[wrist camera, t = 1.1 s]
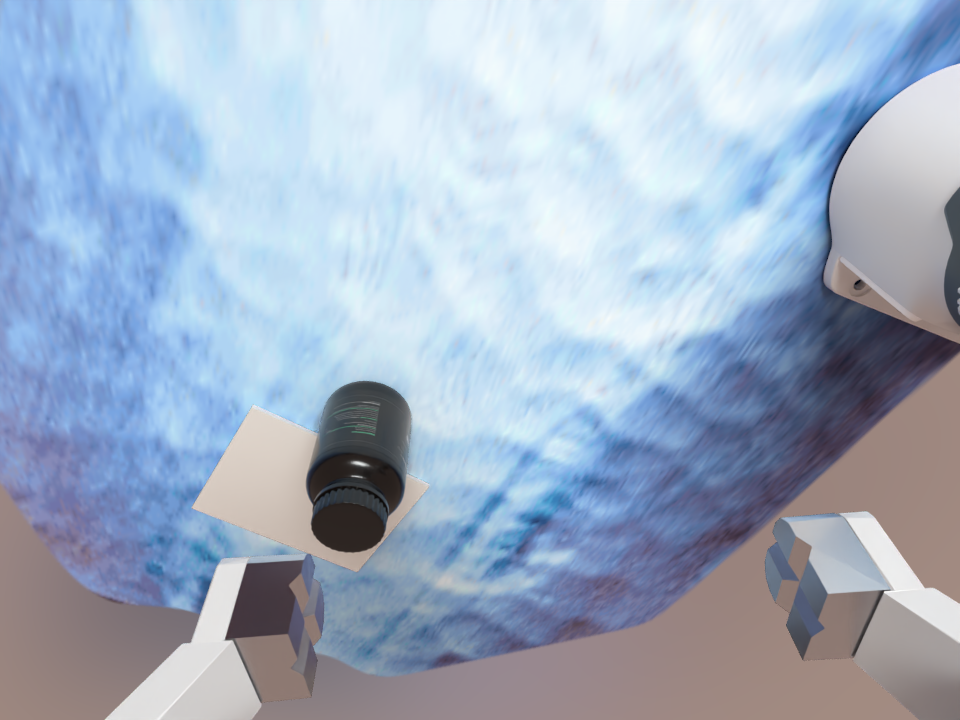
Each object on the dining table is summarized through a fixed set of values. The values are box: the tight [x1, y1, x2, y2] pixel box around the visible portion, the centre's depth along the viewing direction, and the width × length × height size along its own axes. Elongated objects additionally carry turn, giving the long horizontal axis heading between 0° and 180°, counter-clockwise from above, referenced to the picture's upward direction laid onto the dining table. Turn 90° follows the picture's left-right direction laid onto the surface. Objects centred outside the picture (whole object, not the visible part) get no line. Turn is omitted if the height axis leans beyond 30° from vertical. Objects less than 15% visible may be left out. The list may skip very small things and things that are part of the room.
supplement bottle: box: [306, 381, 411, 553], centre depth 49 cm, size 7×7×12 cm
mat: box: [192, 404, 429, 572], centre depth 58 cm, size 16×13×1 cm
